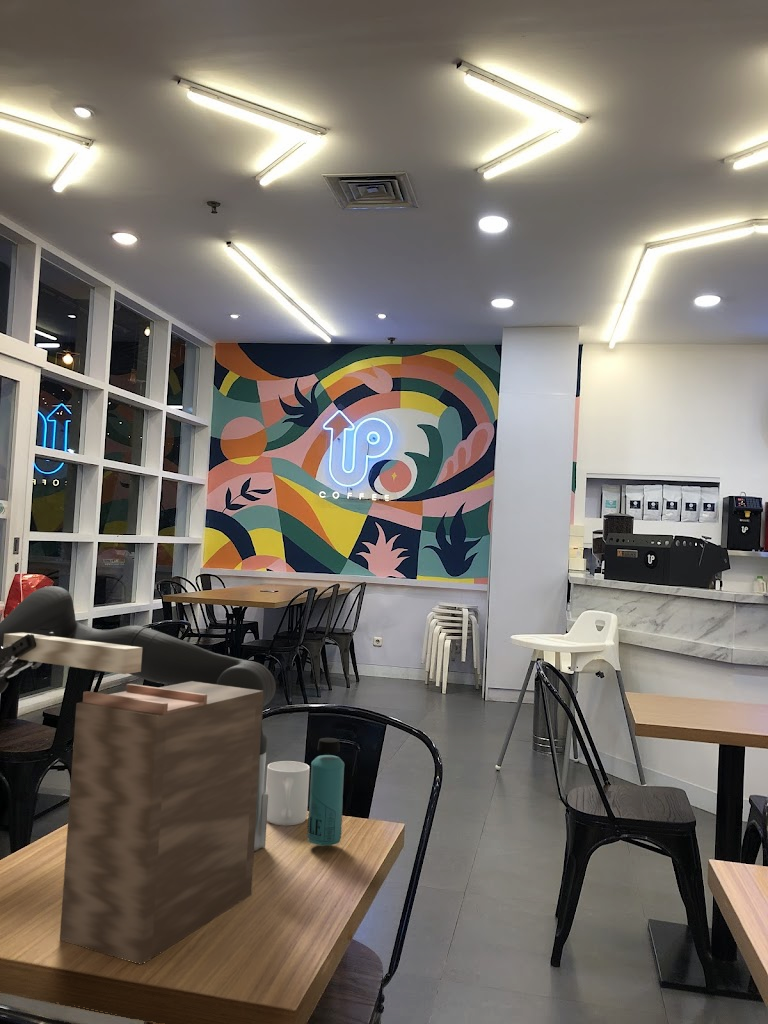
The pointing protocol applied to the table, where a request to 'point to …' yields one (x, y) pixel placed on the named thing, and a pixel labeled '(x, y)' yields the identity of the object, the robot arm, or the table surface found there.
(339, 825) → the beverage bottle
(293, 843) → the table surface
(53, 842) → the table surface
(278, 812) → the mug
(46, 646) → the cream long bar
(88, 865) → the brown wooden box
